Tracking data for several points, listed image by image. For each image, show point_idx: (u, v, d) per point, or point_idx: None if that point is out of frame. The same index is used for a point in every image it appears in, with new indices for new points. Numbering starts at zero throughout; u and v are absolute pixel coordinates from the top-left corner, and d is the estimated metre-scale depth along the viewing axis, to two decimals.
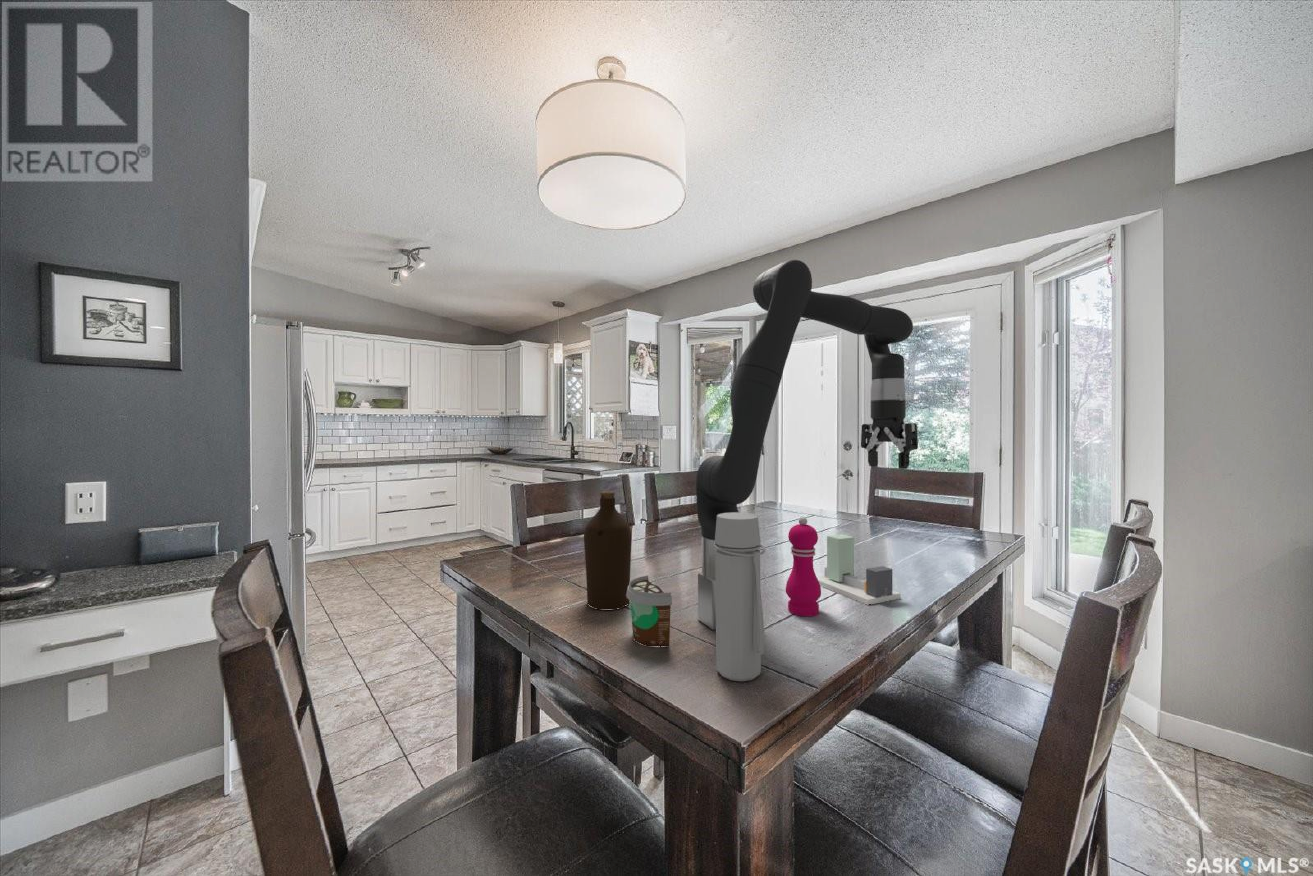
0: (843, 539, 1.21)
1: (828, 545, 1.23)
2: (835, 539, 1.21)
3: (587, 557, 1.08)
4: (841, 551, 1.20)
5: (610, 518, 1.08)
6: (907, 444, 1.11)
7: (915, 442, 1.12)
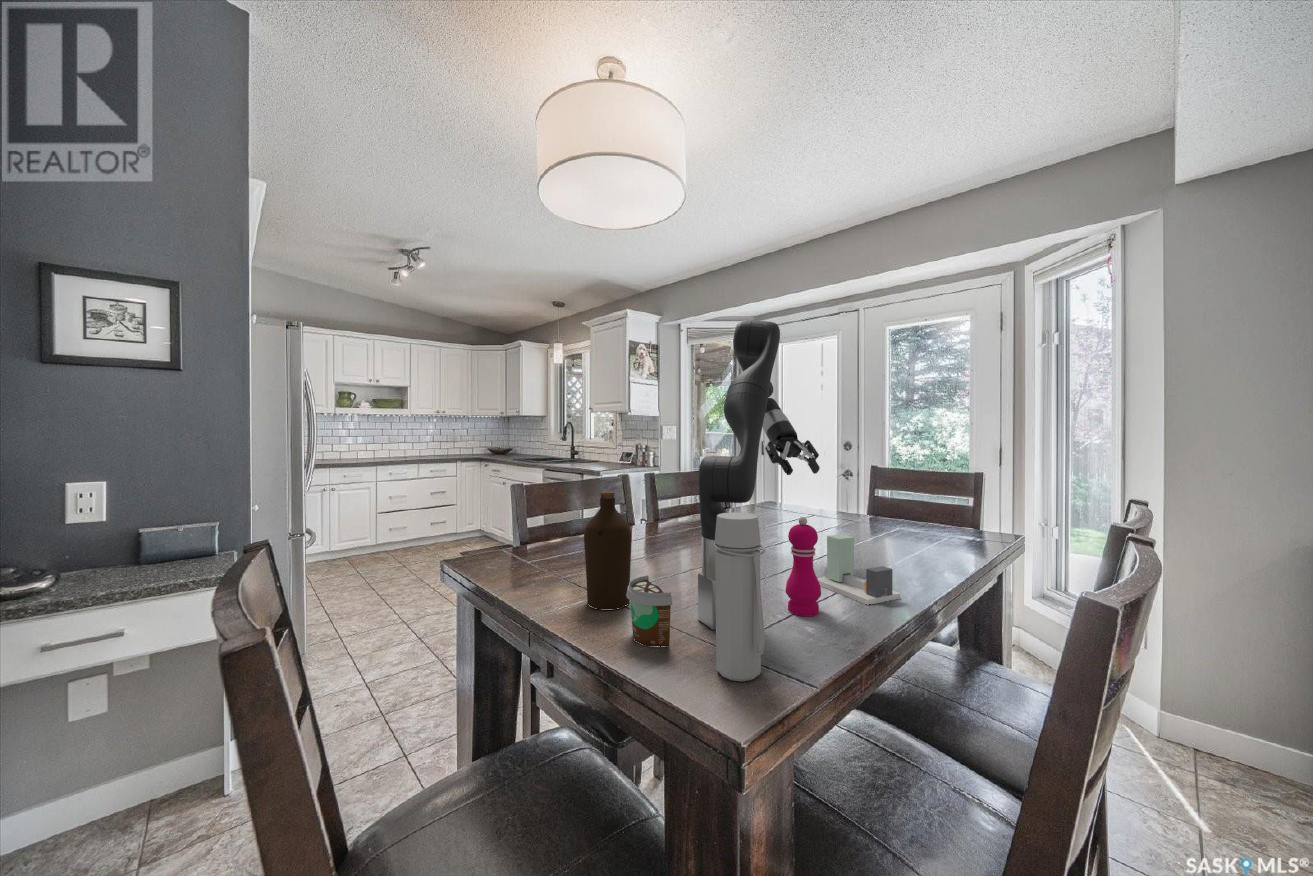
0: (843, 539, 1.21)
1: (828, 545, 1.23)
2: (835, 539, 1.21)
3: (587, 557, 1.08)
4: (841, 551, 1.20)
5: (610, 518, 1.08)
6: (815, 452, 1.37)
7: None
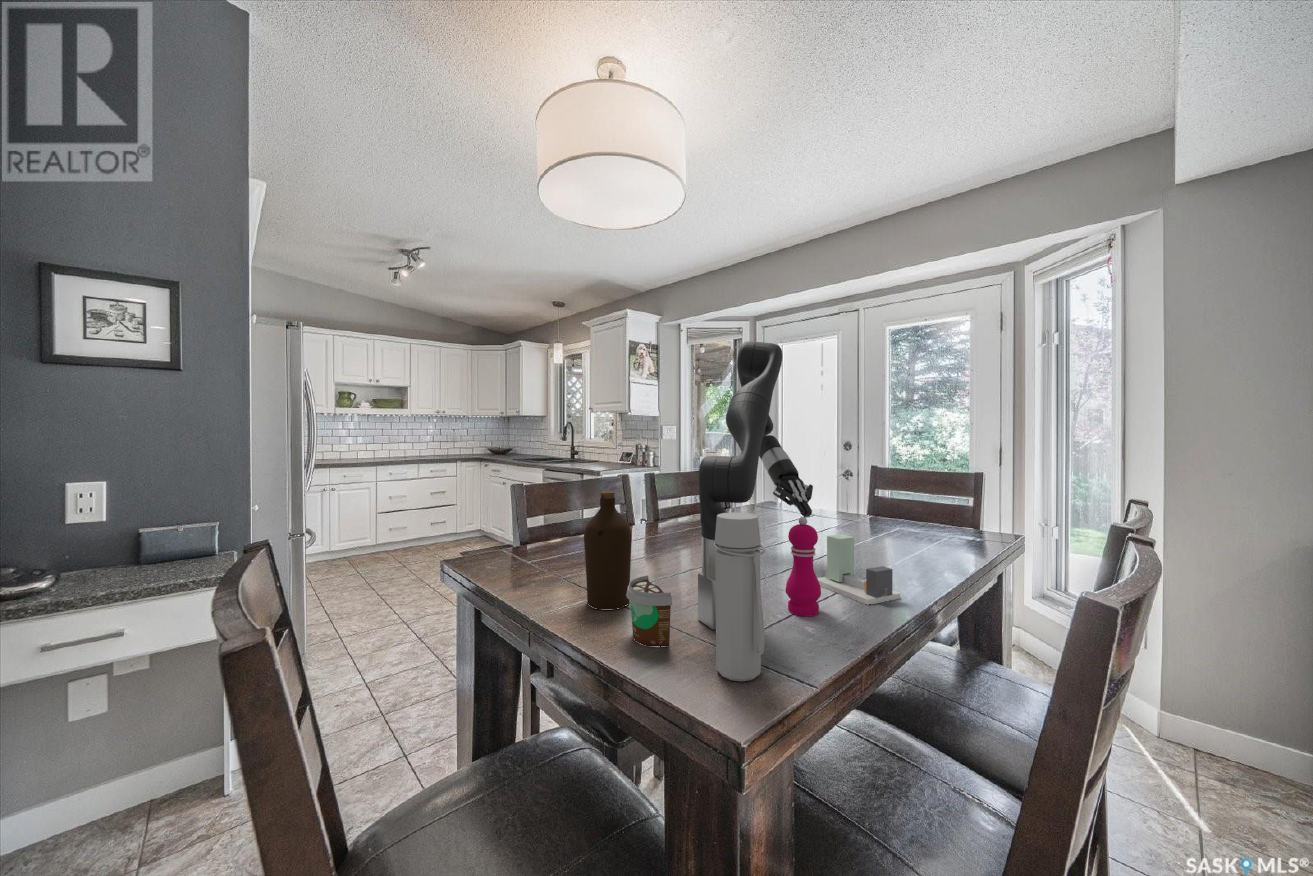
0: (843, 539, 1.21)
1: (828, 545, 1.23)
2: (835, 539, 1.21)
3: (587, 557, 1.08)
4: (841, 551, 1.20)
5: (610, 518, 1.08)
6: (809, 495, 1.37)
7: None
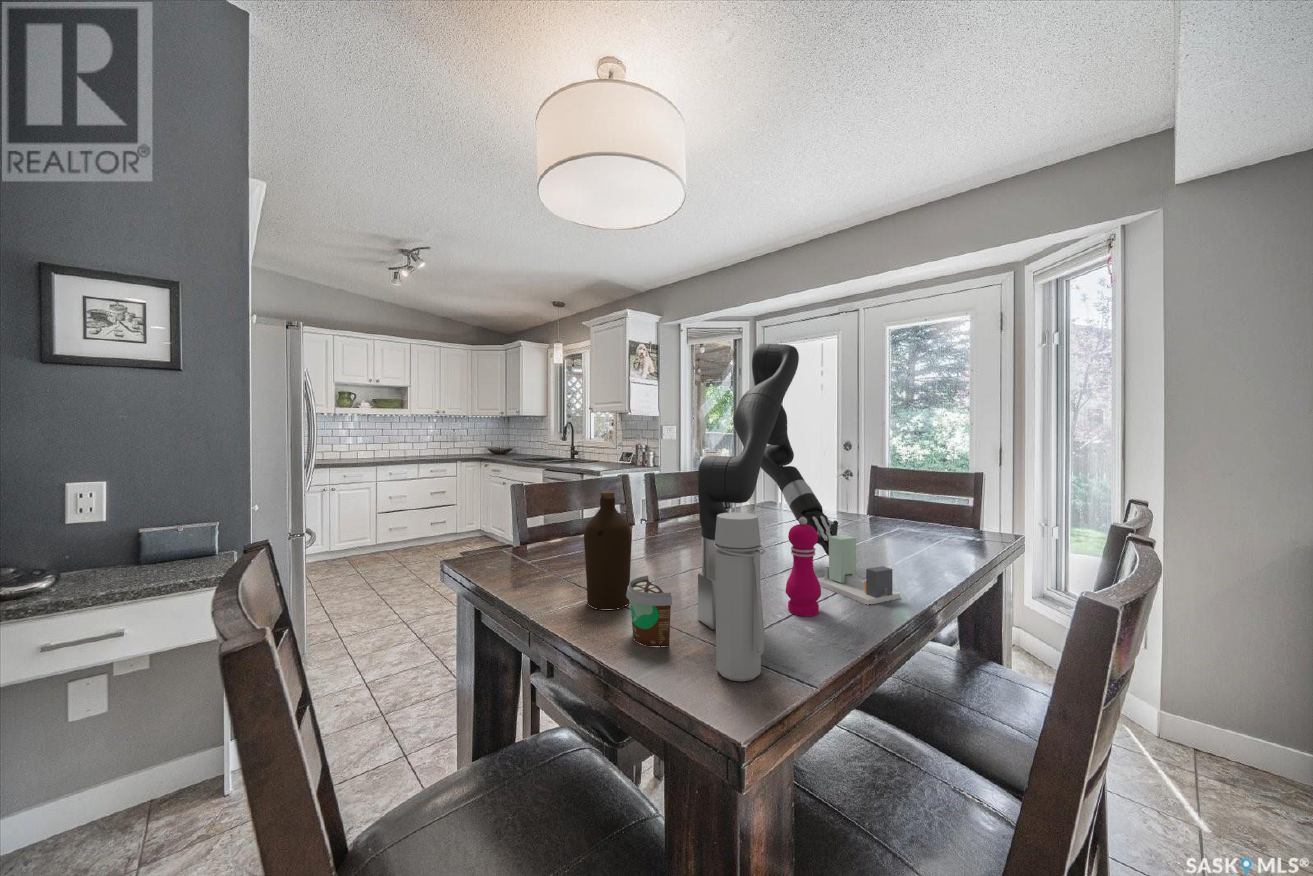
0: (845, 540, 1.20)
1: (830, 546, 1.23)
2: (837, 540, 1.20)
3: (587, 557, 1.08)
4: (843, 551, 1.20)
5: (610, 518, 1.08)
6: (834, 533, 1.28)
7: None
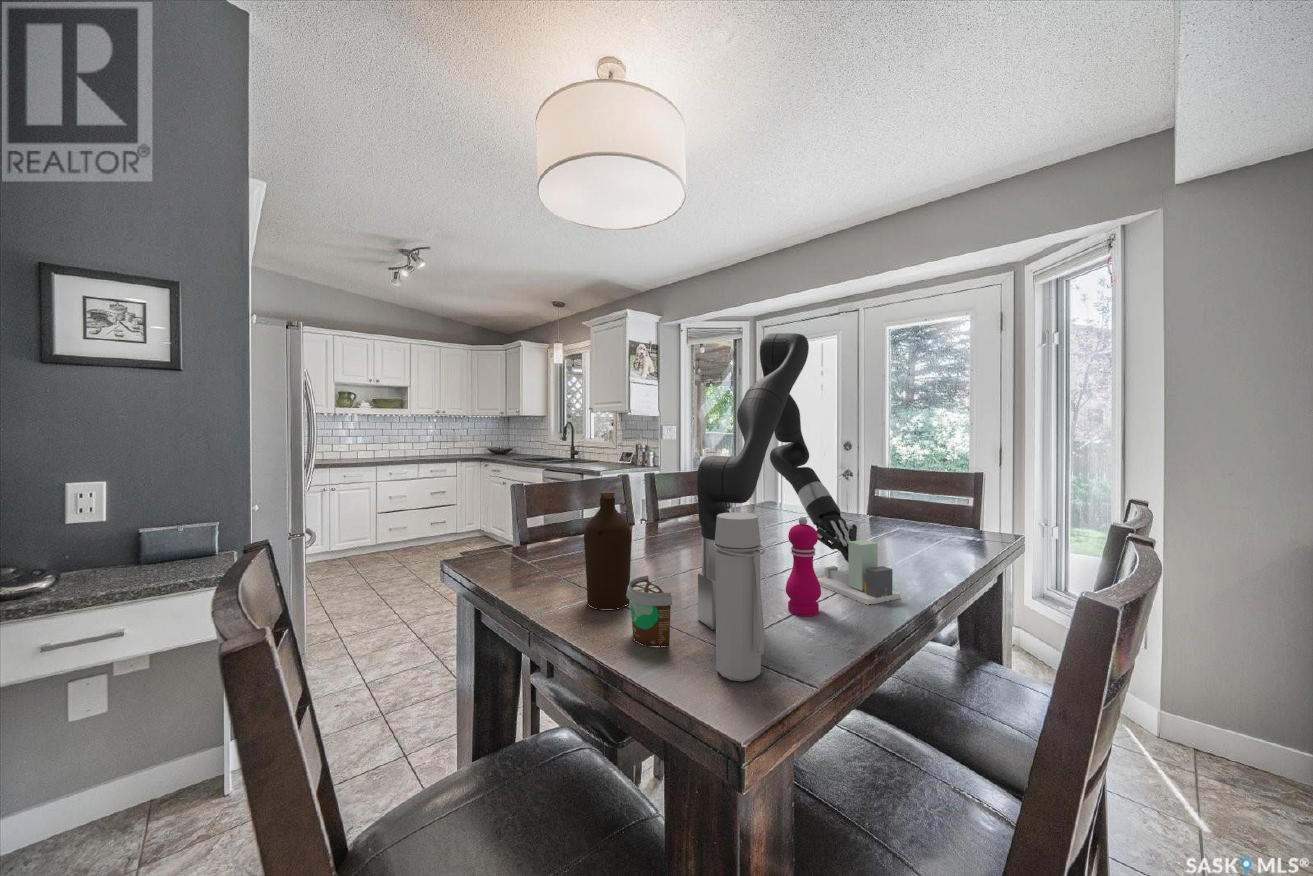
0: (866, 545, 1.14)
1: (850, 551, 1.17)
2: (857, 545, 1.14)
3: (587, 557, 1.08)
4: (864, 558, 1.14)
5: (610, 518, 1.08)
6: (853, 538, 1.22)
7: None
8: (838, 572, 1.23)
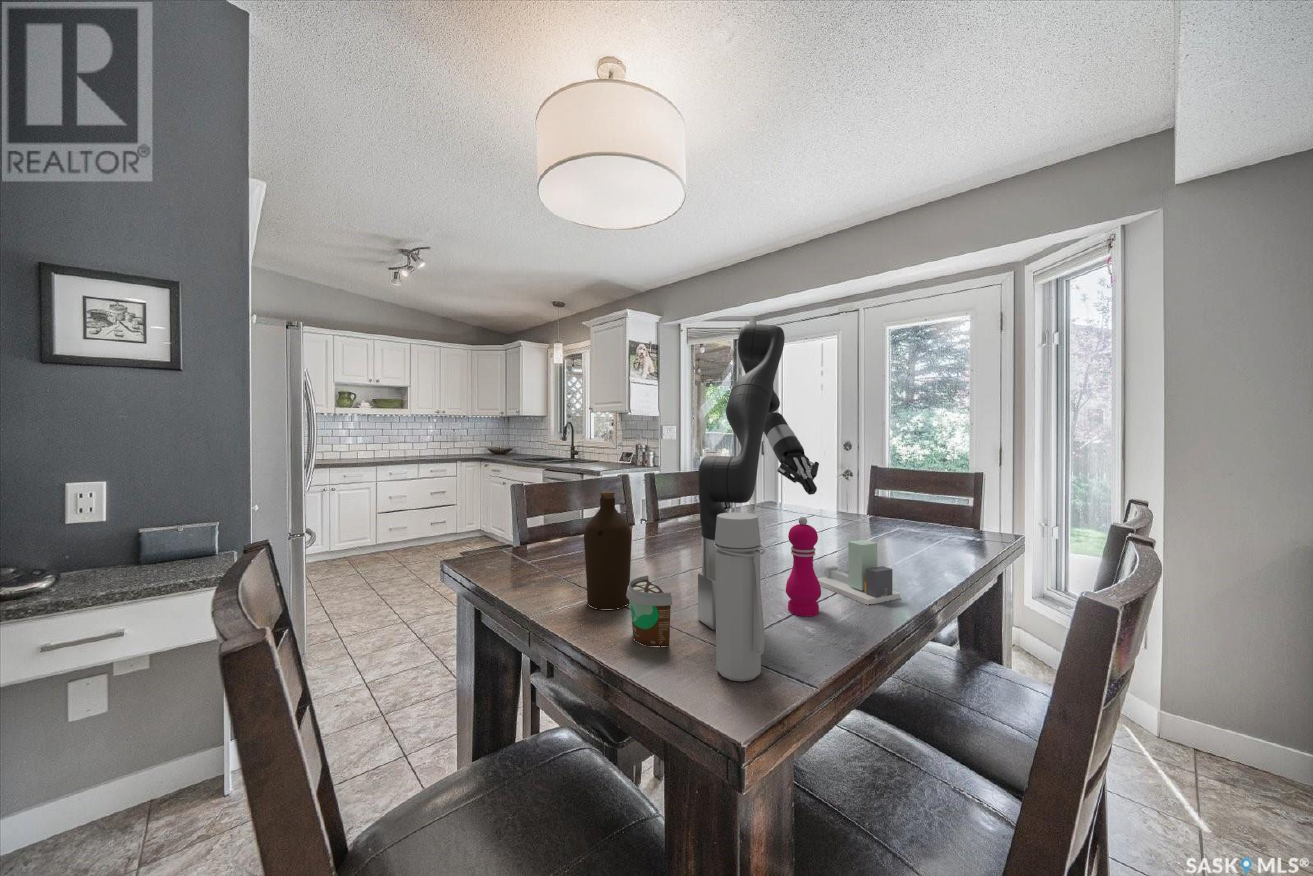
0: (866, 545, 1.14)
1: (849, 551, 1.17)
2: (857, 545, 1.14)
3: (587, 557, 1.08)
4: (864, 558, 1.14)
5: (610, 518, 1.08)
6: (814, 472, 1.35)
7: None
8: (838, 572, 1.23)
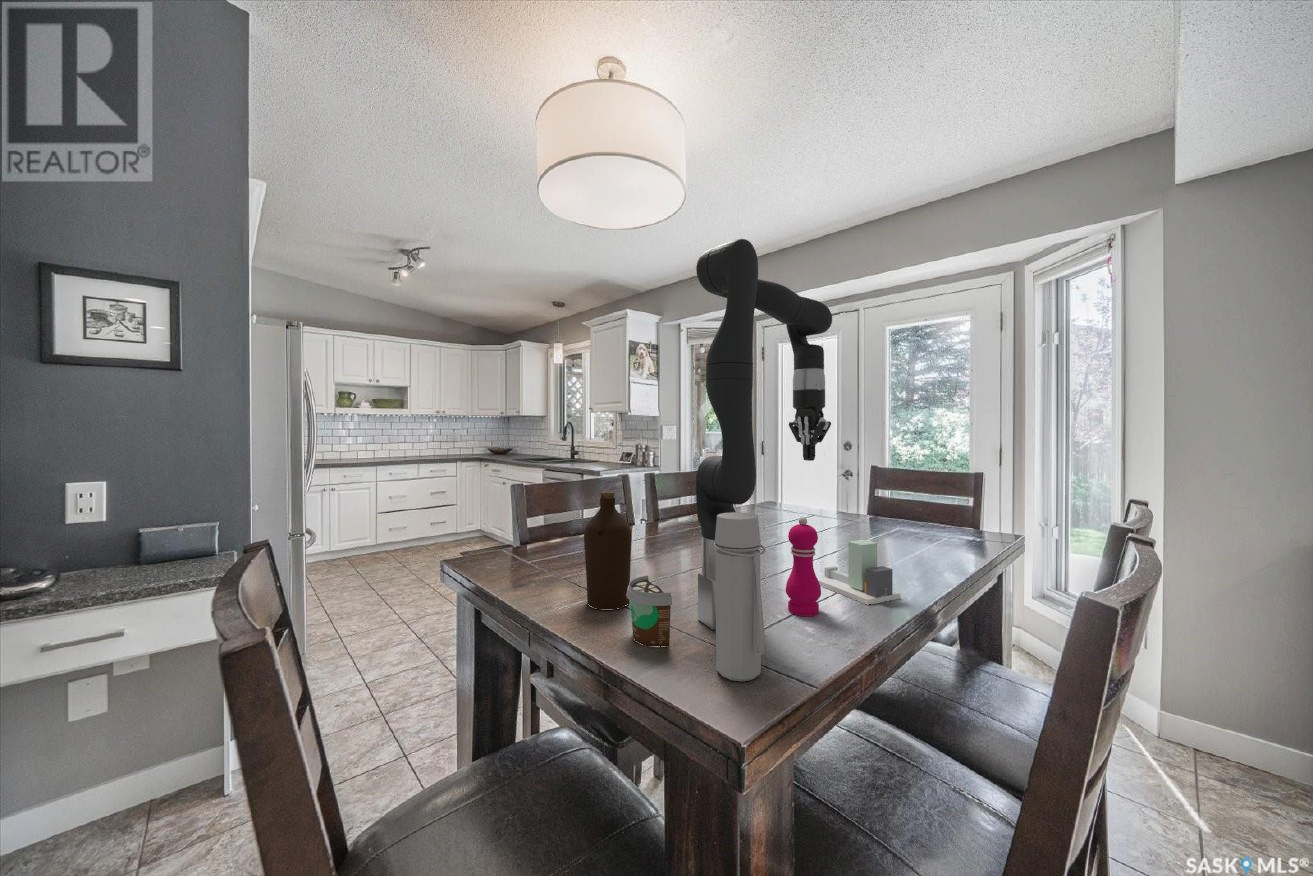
0: (866, 545, 1.14)
1: (849, 551, 1.17)
2: (857, 545, 1.14)
3: (587, 557, 1.08)
4: (864, 558, 1.14)
5: (610, 518, 1.08)
6: (813, 437, 1.18)
7: (821, 437, 1.18)
8: (838, 572, 1.23)
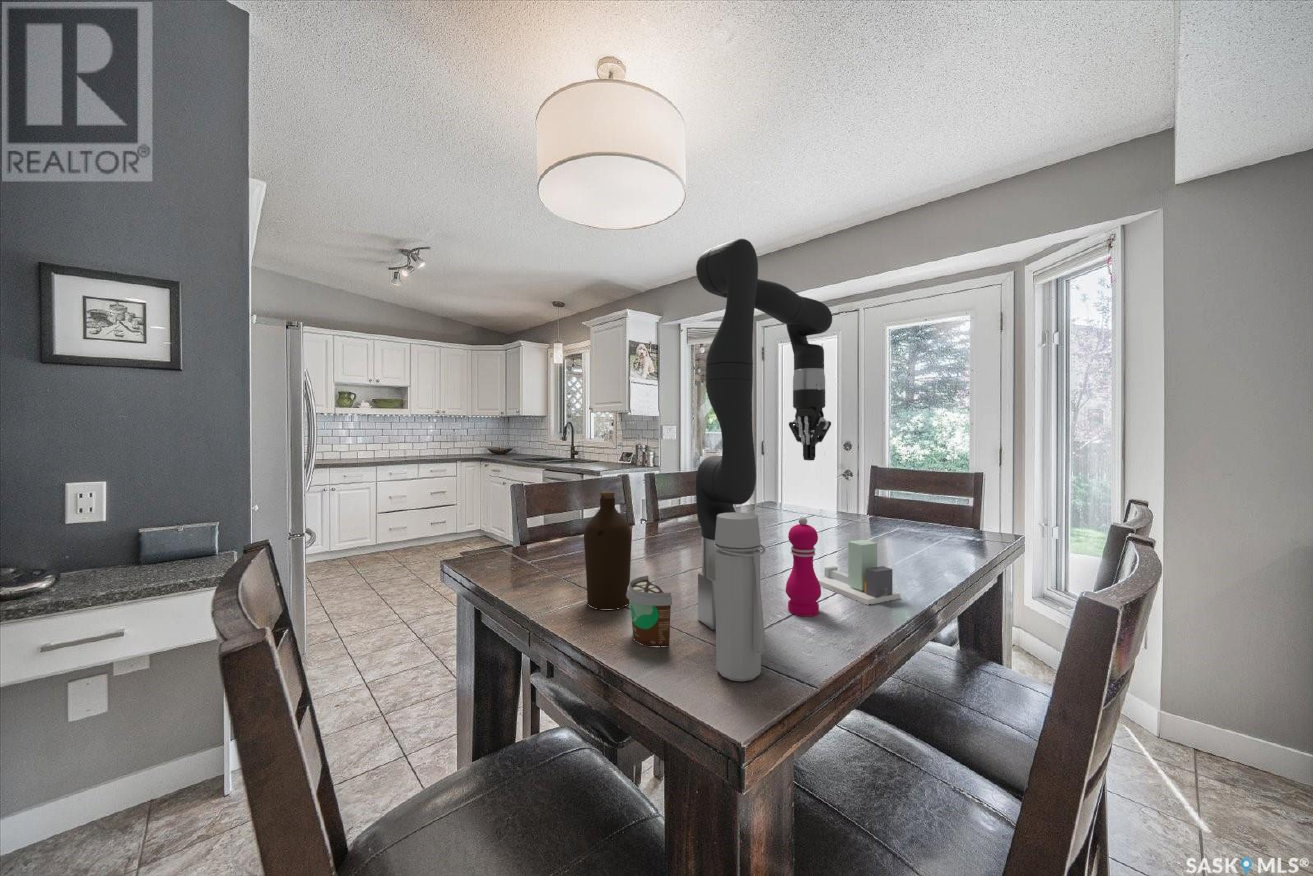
0: (866, 545, 1.14)
1: (849, 551, 1.17)
2: (857, 545, 1.14)
3: (587, 557, 1.08)
4: (864, 558, 1.14)
5: (610, 518, 1.08)
6: (813, 437, 1.18)
7: (821, 437, 1.18)
8: (838, 572, 1.23)
